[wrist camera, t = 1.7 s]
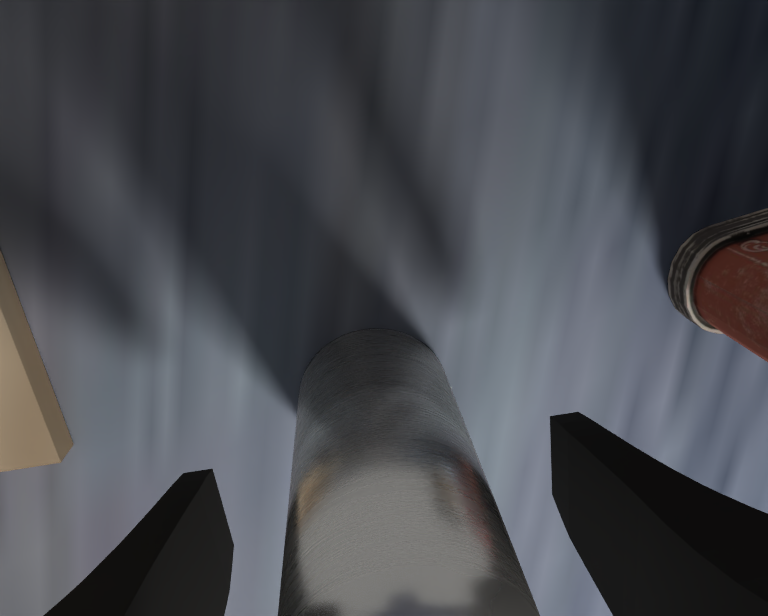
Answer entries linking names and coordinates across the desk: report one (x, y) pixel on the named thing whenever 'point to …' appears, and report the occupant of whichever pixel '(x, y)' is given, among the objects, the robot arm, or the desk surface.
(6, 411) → the dock socket
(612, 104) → the desk surface
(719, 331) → the hip flask
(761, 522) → the robot arm
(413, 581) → the spigot peg
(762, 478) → the desk surface
